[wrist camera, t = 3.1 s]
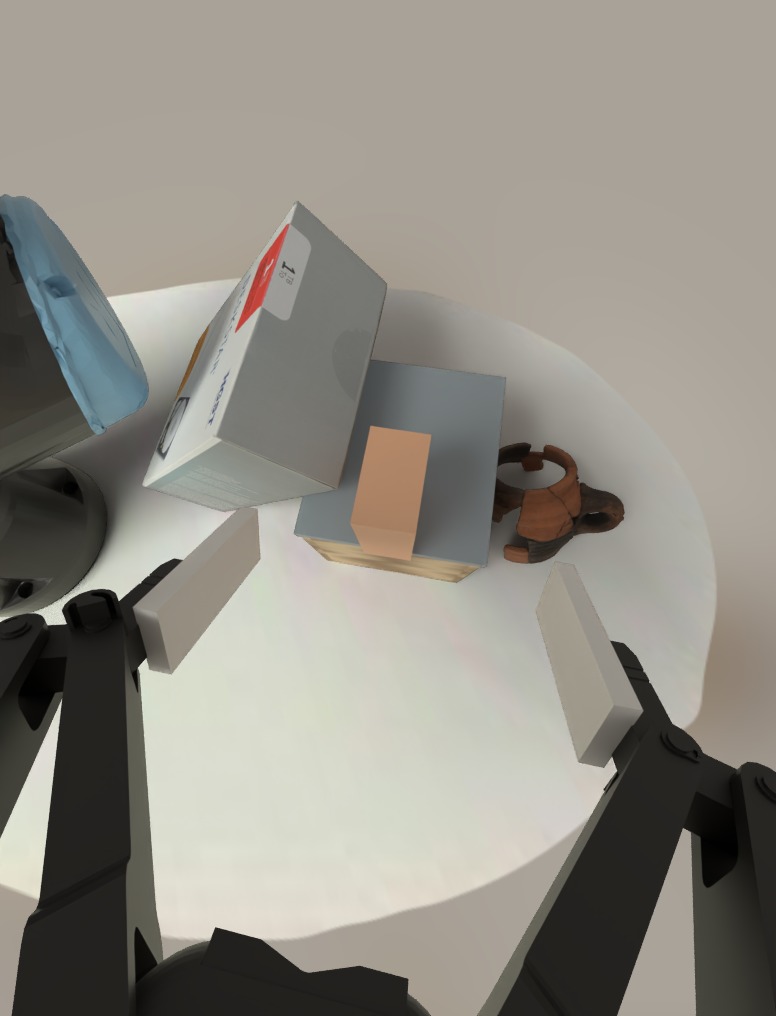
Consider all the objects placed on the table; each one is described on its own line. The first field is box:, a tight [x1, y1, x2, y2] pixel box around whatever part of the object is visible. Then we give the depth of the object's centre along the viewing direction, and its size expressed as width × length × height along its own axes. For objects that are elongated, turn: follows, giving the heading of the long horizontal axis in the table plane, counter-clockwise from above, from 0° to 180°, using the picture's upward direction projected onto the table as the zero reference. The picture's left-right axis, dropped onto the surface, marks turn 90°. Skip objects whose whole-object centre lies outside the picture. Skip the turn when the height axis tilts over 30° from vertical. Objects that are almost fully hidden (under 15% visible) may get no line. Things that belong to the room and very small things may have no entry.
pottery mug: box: [492, 443, 625, 563], centre depth 34 cm, size 12×10×8 cm
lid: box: [294, 360, 506, 568], centre depth 23 cm, size 13×14×8 cm
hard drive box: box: [142, 201, 387, 512], centre depth 29 cm, size 16×8×20 cm
